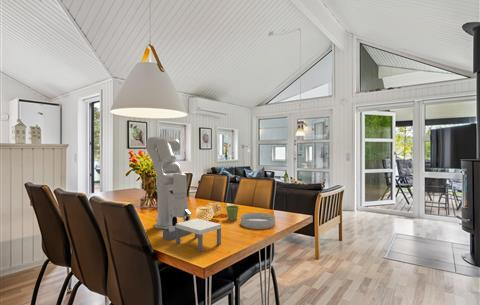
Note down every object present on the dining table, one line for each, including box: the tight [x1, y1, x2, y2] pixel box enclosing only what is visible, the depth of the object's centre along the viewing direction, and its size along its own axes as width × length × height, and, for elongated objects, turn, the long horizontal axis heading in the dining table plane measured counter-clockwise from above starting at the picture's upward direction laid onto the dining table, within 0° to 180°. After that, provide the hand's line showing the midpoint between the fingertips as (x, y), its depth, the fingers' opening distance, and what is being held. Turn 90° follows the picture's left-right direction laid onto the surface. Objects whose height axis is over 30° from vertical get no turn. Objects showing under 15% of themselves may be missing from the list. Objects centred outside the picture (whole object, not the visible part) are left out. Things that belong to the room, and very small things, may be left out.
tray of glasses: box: [162, 226, 192, 241], centre depth 148 cm, size 6×18×5 cm, turn 148°
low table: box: [175, 218, 222, 253], centre depth 134 cm, size 18×14×10 cm
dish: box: [240, 212, 276, 230], centre depth 172 cm, size 22×22×5 cm
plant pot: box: [225, 205, 240, 221], centre depth 183 cm, size 9×9×9 cm
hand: (180, 226), depth 147 cm, fingers open, 9 cm apart
